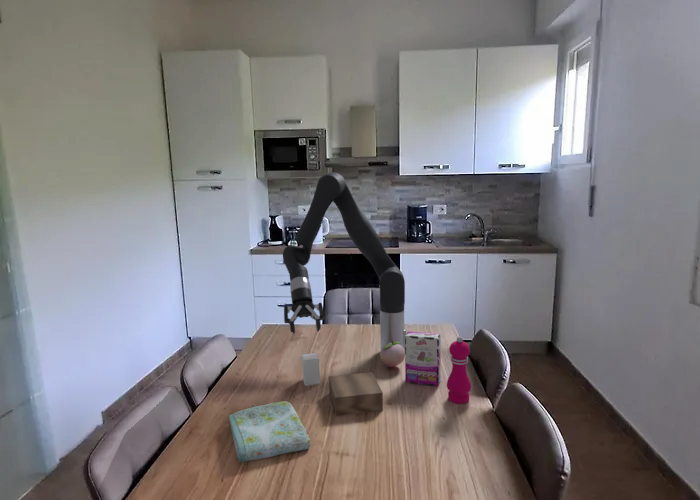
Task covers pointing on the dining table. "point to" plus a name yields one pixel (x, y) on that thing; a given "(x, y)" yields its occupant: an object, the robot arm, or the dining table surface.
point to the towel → (267, 431)
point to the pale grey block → (311, 369)
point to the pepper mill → (459, 373)
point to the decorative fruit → (392, 354)
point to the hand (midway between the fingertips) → (306, 331)
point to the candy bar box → (422, 358)
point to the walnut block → (355, 394)
